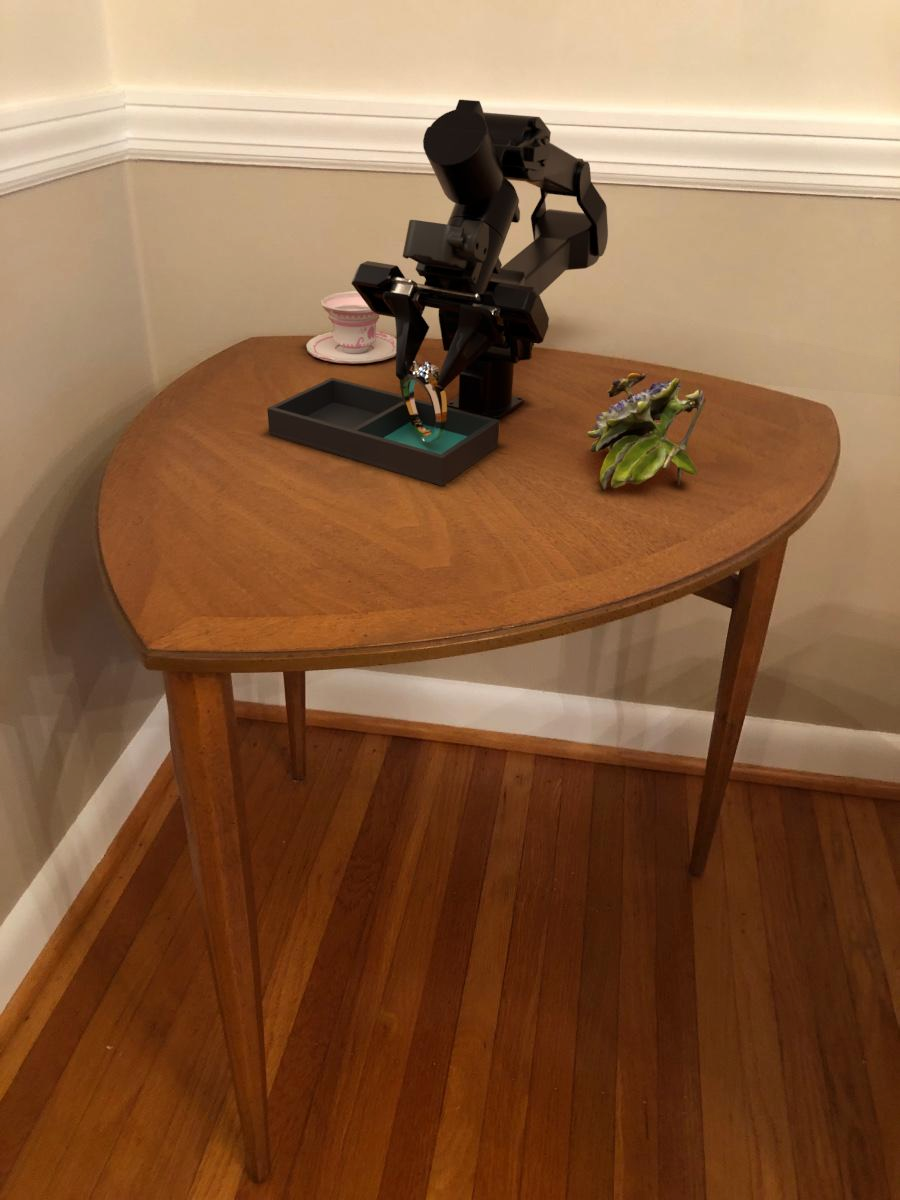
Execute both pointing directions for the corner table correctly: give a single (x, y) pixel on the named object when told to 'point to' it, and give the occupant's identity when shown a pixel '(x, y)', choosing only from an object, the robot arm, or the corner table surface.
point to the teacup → (351, 332)
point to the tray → (382, 430)
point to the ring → (439, 404)
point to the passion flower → (643, 431)
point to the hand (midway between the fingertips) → (419, 382)
